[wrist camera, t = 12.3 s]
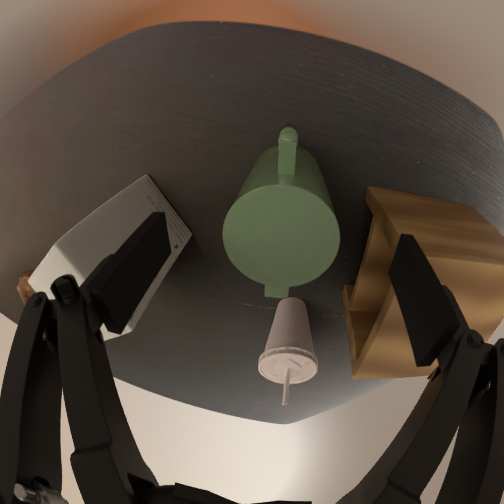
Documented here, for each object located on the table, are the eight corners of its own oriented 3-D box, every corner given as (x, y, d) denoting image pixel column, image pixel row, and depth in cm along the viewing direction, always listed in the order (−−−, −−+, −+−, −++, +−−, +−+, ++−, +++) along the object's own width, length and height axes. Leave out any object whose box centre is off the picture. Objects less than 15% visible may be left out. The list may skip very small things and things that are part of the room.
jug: (252, 117, 22) (218, 136, 13) (327, 122, 22) (356, 147, 12) (251, 217, 28) (225, 295, 18) (316, 223, 27) (325, 305, 18)
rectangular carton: (195, 234, 30) (136, 335, 18) (146, 263, 34) (88, 350, 22) (147, 170, 27) (52, 242, 14) (104, 209, 30) (25, 282, 18)
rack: (367, 185, 24) (411, 254, 14) (471, 206, 23) (531, 268, 13) (342, 294, 32) (352, 379, 22) (434, 299, 30) (462, 371, 20)
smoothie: (319, 290, 32) (323, 393, 21) (313, 325, 36) (312, 418, 24) (267, 287, 33) (250, 389, 21) (266, 322, 37) (252, 414, 25)
